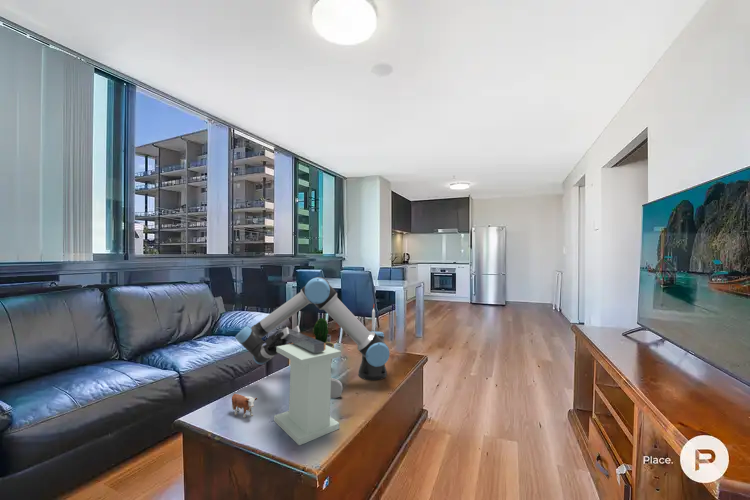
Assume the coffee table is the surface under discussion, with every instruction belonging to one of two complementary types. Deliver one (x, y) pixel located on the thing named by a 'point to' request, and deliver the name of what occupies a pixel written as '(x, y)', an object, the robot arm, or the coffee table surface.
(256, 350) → the robot arm
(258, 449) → the coffee table surface
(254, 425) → the coffee table surface
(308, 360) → the stand
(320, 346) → the bar
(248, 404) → the bull figurine
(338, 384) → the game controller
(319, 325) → the potted cactus
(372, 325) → the candlestick
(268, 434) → the coffee table surface
